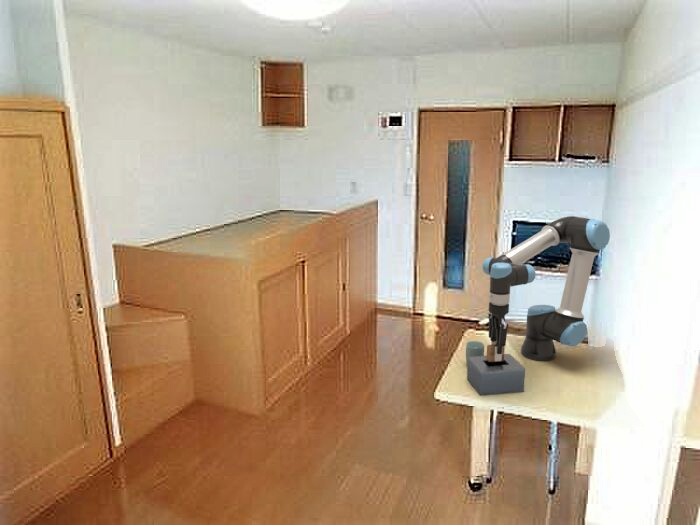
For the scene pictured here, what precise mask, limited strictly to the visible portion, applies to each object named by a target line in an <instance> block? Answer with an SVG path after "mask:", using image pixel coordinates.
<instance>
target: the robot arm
mask: <svg viewBox="0 0 700 525" xmlns="http://www.w3.org/2000/svg"><path fill="white" fill-rule="evenodd" d="M610 236H611V234H610V229H609V227H608V224H606V222H604V221H603V220H599V219H595V218H588V217H581V216H580V217H579V216H576V215H575V216H574V215H571V216H569V215H568V216H564V217H560V218H558V219H555V220H554V221H552V222H549V223H547V224H546V225H543V227H542V228H541V231H539V232H537V233H536V234H534V235H532V236H531V237H529V238H527V239H526V240H524V241H522V242H520V243H518V244H517V245H516V246H514V247H512V248H510V249H509V250H507V251H505V252H504V253H502V254H501V255H498V257H496V258H495V257H492V256H491V257H486V259H484V261H483V263H482V271H483V273H485V274H486V275H488V276H489V294H488V299H489V303H488V312H489V313H488V315H487V316H488V338H489V340H490V341H491V342H490V345H495V344H496V345H495V355H494V361H501V360H502V346H504V347H506V344H507V337H508V336H507V335H508V328H509V323H507V322H506V315H508V314H509V312H510V297H511V296H510V295H511V287H516V286H521V285H522V286H523V285H527V284H530V283H533V282H534V281H535V279H536V274H537V272H536V270H535V268H534V267H533V266H532V265H531V264H524V263H525V262H527V261H529V260H530V259H532V258H533V257H535V256H537V255H538V254H540V253H542V252H543V251H544V250H546V249H548V248H550V247H551V246H553V247H554V246H558V245H559V244H564V243H567V244H569V250H570V251H571V253H572V254H571V257H570V261H569V265H568V271H567V275H566V279H565V283H564V288H563V290H562V295H561V300H560V305H559V307H558V308H556V307H555V306H553V305H549V304H536V305H532V306H529V308H528V310H527V314H526V328H525V329H526V330H525V338H524V340H523V343H522V345H521V348H520V355H522V356H523V357H525V358H527V359H530V360H534V361H539V362H547V361H552V360H555V358H556V357H557V356H556V355H557V351H556V350H557V349H556V346H555V343H554V341H555V342H557V343H560V344H562V345H565V346H568V347H576V346H579V345H580V344H581V343H582V342H583V340H584V339H585V338H586V337H587V334H588V326H587V324H586V322H584V320H585V316H584V314H583V312H582V311H583V307H584V306H583V305H584V302H585V298H586V297H585V296H586V293H587V290H588V285H589V281H590V277H591V273H592V267H593V264H594V259H595V257H596V256H598V255H600V252H601V250H603V249H605V248H606V247H607V245H608V244H609V242H610Z"/></svg>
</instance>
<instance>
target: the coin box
mask: <svg viewBox="0 0 700 525" xmlns="http://www.w3.org/2000/svg"><path fill="white" fill-rule="evenodd" d="M486 356H487V355H484V356H476V357H468V364H467V367H466V368H467V370H466V371H467V372H466V380H467V382H469V384H470V385H471V386H472V387H473V389H474V391H476V393H477V394H478V396H481V397H482V396H491V395H493V396H494V395H501V394H502V395H504V394H513V393H514V394H515V393H524V390H525V377H526V376H525V375H526V367H524V366H523V365H522V364H521V363H520V362H519V361H518V360H517V359H516V358H514V356H512V355H511V354H510V353H504V361H498V362H489V361H488V360H487V359H486Z"/></svg>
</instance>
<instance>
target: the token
mask: <svg viewBox="0 0 700 525" xmlns="http://www.w3.org/2000/svg"><path fill="white" fill-rule="evenodd" d="M495 345H496V344H495ZM495 345H491V344H487V345H486V355H485V356H486V359H487V360H488V361H489V362H498V361H494V355H495ZM505 348H506V346H502V360H501V361H504V354H505Z"/></svg>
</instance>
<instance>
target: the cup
mask: <svg viewBox="0 0 700 525" xmlns="http://www.w3.org/2000/svg"><path fill="white" fill-rule="evenodd" d="M476 356H485V344H484V343H483V342H481V341H478V340H471V341H470V340H469V341H467V342H466V344H465V360H466V364H467V365H468V357H476Z"/></svg>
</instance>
